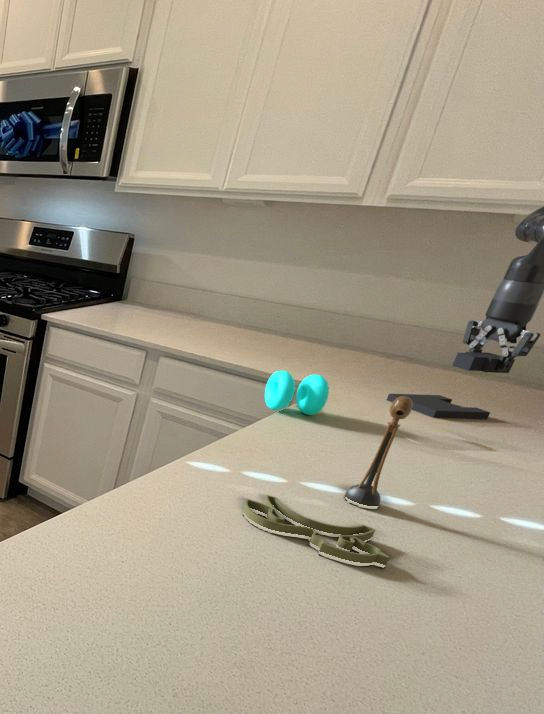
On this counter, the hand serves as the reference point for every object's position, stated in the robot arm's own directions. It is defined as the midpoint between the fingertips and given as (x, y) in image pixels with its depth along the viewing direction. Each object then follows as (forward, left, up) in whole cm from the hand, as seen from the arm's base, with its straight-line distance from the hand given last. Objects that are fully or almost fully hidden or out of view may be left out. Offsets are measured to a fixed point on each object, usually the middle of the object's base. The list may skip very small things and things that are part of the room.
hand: (484, 366), depth 145 cm
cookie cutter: (+90, +57, -13) cm, 107 cm away
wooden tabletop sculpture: (+72, +47, -13) cm, 87 cm away
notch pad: (+10, +2, -13) cm, 17 cm away
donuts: (+48, +2, -13) cm, 50 cm away
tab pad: (+2, 0, -1) cm, 2 cm away
